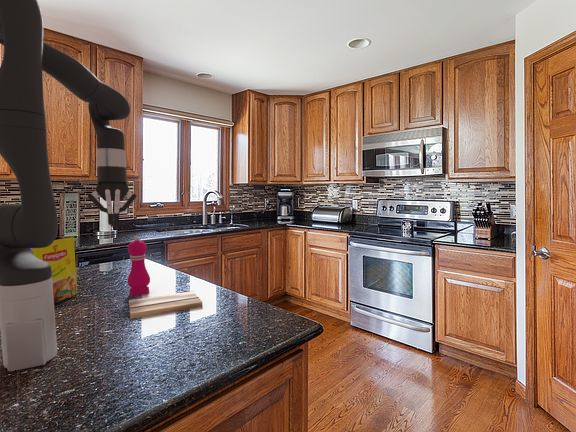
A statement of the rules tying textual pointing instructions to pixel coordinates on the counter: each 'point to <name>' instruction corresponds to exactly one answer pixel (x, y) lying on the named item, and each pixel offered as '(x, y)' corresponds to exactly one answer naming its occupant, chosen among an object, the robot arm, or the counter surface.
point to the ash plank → (161, 299)
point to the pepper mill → (138, 268)
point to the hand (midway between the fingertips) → (114, 226)
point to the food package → (60, 266)
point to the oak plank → (164, 307)
